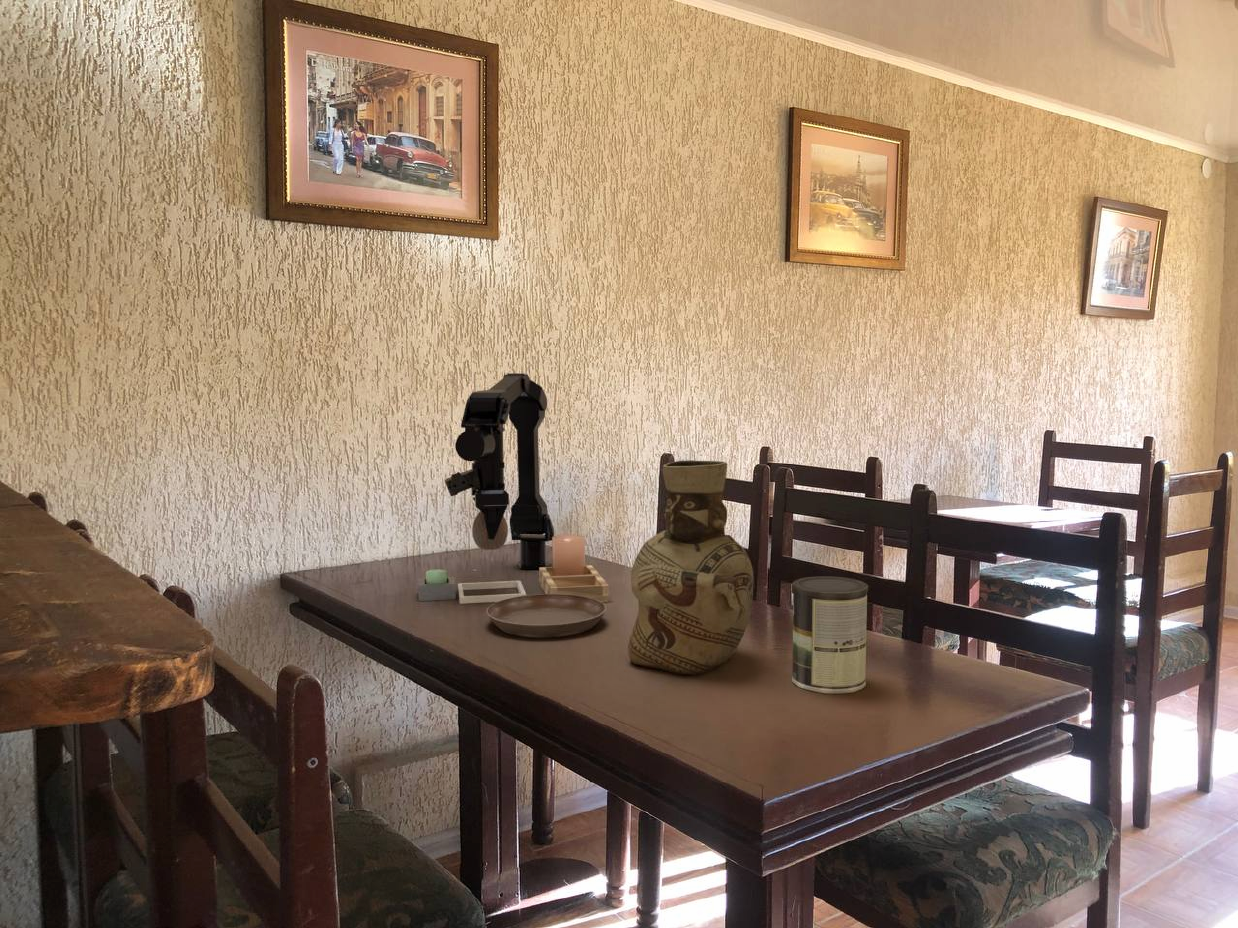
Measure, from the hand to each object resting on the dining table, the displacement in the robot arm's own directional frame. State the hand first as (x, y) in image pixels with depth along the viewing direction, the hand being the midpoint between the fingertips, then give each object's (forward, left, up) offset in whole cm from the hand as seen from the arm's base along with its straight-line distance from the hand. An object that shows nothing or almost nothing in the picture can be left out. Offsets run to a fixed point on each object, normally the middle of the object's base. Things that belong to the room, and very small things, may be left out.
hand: (490, 536), depth 193 cm
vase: (0, 0, -3) cm, 3 cm away
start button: (-1, -11, -11) cm, 15 cm away
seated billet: (-4, +16, -10) cm, 20 cm away
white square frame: (0, 0, -12) cm, 12 cm away
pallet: (+1, +16, -12) cm, 20 cm away
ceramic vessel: (+50, +27, -12) cm, 58 cm away
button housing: (-1, -11, -12) cm, 16 cm away
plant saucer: (+25, +8, -12) cm, 29 cm away
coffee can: (+65, +43, -12) cm, 79 cm away
